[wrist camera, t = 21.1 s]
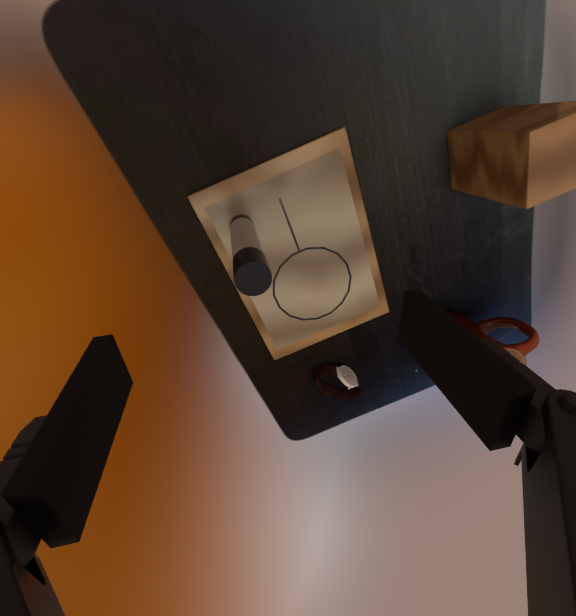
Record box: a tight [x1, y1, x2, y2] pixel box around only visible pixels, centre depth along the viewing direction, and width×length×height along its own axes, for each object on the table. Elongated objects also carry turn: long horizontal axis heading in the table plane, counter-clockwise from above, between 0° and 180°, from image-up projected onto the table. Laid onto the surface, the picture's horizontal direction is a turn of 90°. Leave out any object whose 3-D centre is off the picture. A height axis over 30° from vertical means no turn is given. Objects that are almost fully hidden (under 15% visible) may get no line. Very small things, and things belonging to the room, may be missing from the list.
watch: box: [315, 365, 363, 399], centre depth 44 cm, size 8×5×4 cm, turn 54°
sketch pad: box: [187, 127, 389, 360], centre depth 35 cm, size 22×16×1 cm
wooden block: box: [447, 101, 576, 209], centre depth 29 cm, size 6×6×10 cm
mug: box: [446, 311, 539, 365], centre depth 40 cm, size 12×9×10 cm
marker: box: [230, 215, 272, 296], centre depth 26 cm, size 2×2×13 cm
